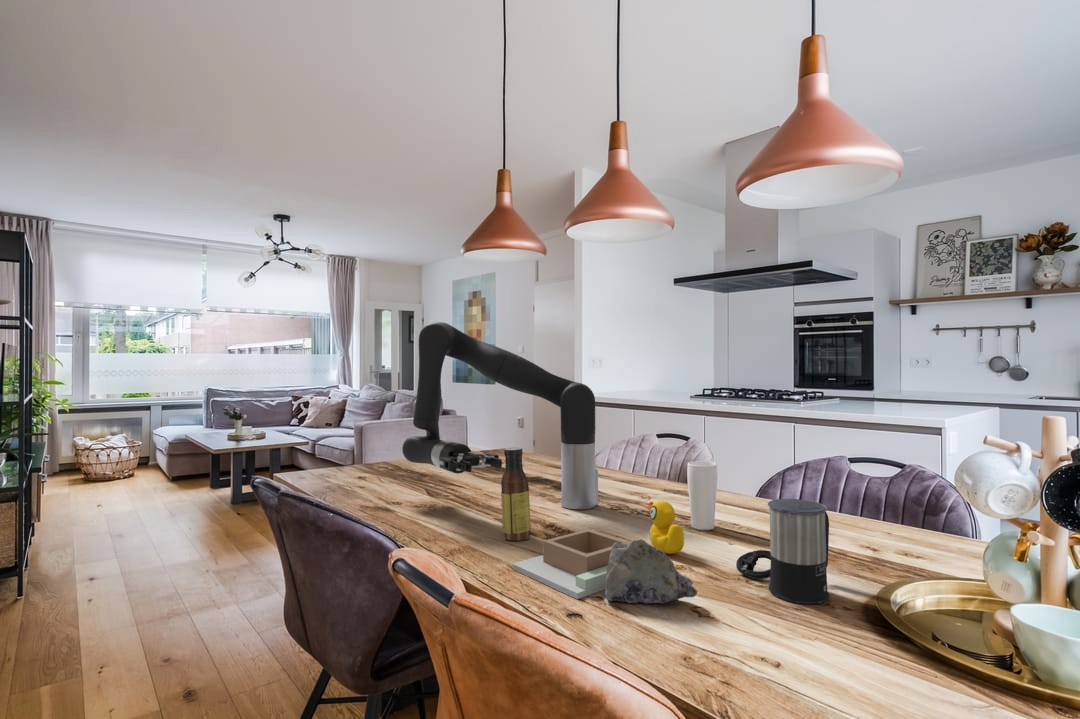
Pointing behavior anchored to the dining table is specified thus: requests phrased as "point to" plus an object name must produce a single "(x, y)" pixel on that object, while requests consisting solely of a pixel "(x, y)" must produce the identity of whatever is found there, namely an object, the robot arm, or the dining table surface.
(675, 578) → the mineral rock
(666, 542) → the duckling
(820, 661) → the dining table surface
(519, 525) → the sauce bottle
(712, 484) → the white tumbler
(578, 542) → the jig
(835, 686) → the dining table surface
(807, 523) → the milk frother
